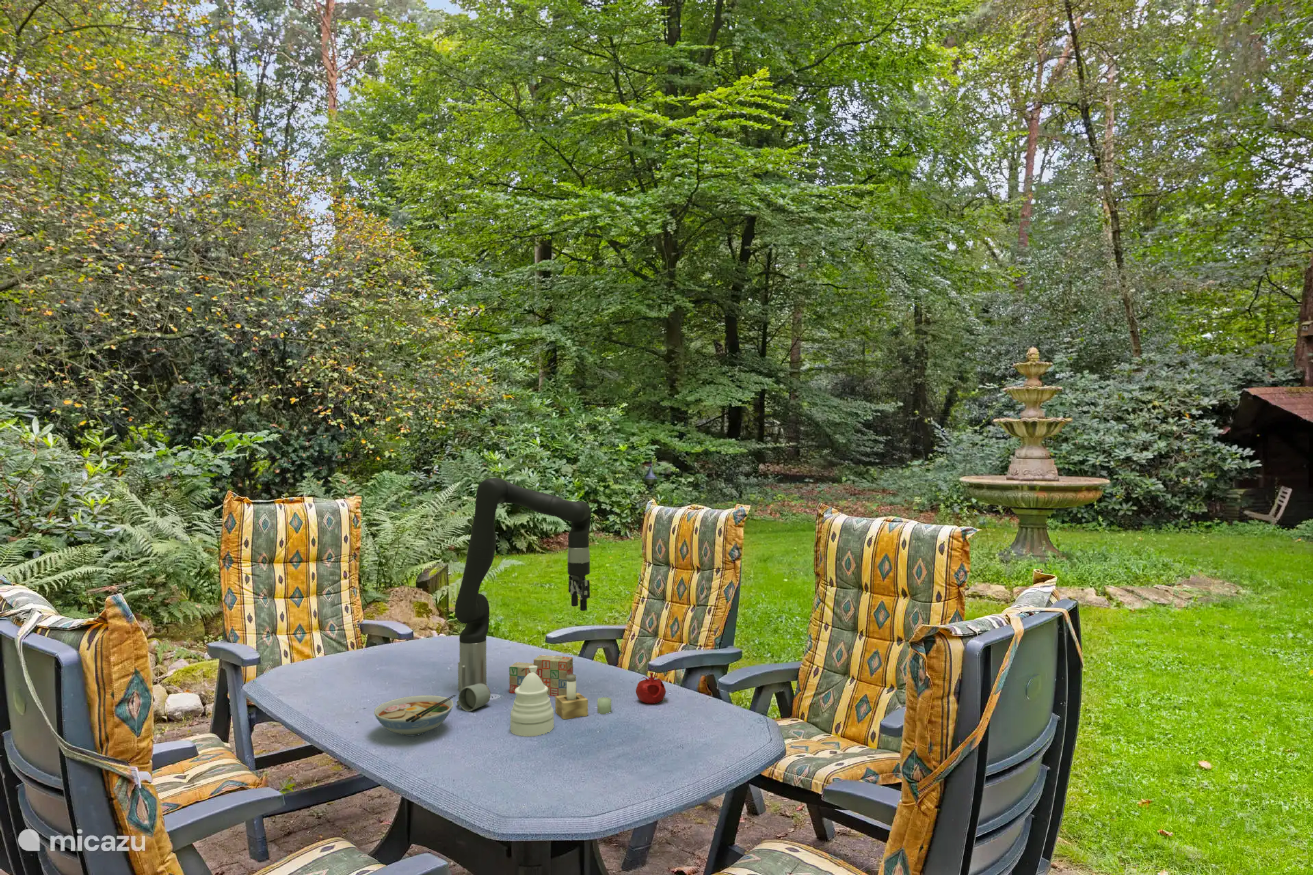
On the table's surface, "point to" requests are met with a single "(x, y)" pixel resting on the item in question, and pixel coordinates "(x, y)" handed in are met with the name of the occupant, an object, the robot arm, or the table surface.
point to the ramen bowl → (414, 713)
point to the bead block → (571, 706)
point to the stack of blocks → (544, 673)
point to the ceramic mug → (474, 697)
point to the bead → (604, 705)
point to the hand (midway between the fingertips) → (579, 608)
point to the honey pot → (531, 707)
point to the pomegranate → (650, 690)
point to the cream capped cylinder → (571, 687)
